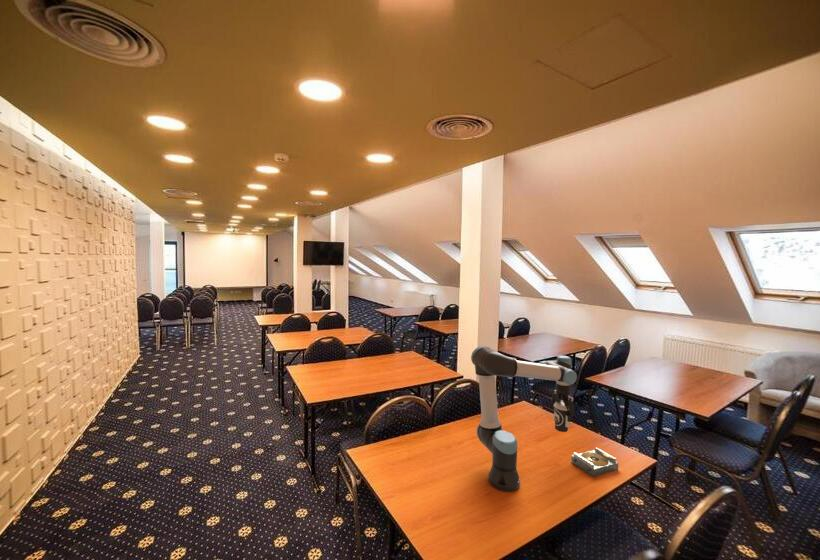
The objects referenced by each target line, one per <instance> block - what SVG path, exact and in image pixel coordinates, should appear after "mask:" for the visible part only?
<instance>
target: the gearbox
mask: <svg viewBox="0 0 820 560" xmlns="http://www.w3.org/2000/svg"><path fill="white" fill-rule="evenodd" d="M570 461H571V462H570V463H572V464H573V465H575V466H576V467H577V468H579V469H580V470H581V471H584V473H586V474H587V475H589V476H591V477H592V478H594V477H599V476H601V475H605V474H610V473H613V472H617V471H619V462H618V461H617V457H614V456H613V455H612V454H611V455H610V454H609V453H607V452H605V451H603V450H602V449H600V448H598V447H595V448H594V449H593V450H588V451H585V452H580V453H577V452H573V454H571V459H570Z"/></svg>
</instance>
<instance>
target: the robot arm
mask: <svg viewBox="0 0 820 560" xmlns="http://www.w3.org/2000/svg"><path fill="white" fill-rule="evenodd" d="M470 359H471V362H472V364H473V366H474V370H475V375H476V376H477V377H478V385H479V399H480V410H481V411H480V413H481V415H480V416H481V419H480V420H479V423H478V426H477V427H476V436H477V438H478V439H479V442H481V444H482V445H483V446H484V447H485V448H486V449H487V450H488V451H489V452H490V453H491V454H492V464H491V467H490V471H489V472H488V475H487V478H488V484H490V485H491V486H492V487H493V488H495V489H497V490H498V491H501V492H506V493H507V492H514V491H515V492H516V491H517V490H518V489H519V488H520V486H521V479H520V476H519V473H518V468H517V467H518V466H517V464H518V463H517V462H518V460H517V459H518V448H519V447H518V440H517V437H516V436H515V435H514V434H513V433H511V432H508V431H507V430H503V427H502V421H501V420H500V418H499V415H498V414H499V413H498V398H497V397H498V396H497V384H496V383H497V382H496V376H497V377H498V376H499V377H504V378H505V377H506V378H514V377H523V378H531V379H539V380H547V381H554V382H556V383H555V389H552V391H551V392H552V395H551V402H550V406H551V407H552V408H553V421H554V422H555V409H554V403H555V402H556V401H557V402H560V401H563V403H564V405H565V406H566V407H567V406H569V407H567V412H566V413H567V415H566V423H565V427H568V428H569V427H571V423H572V417H574V416H575V415H576V414H575V403H574V402H575V397H572V396H571V395H570V392H571V385H574V383H576V381H577V378H578V375H577V373H576V371H575V370H573V369H572V366H573V365H572V358H571V357H570V356H567V355H562V354H561V355H557V357H556V359H554V360H543V361H541V360H540V361H539V362H533V361H532V362H531V361H524V360H517V359H516V358H515V357H510V356H507V355H504V354H502V353H500V352H498V351H496V350H494V349H492V348H490V347H488V346H485V345H484V346H483V345H481V346H477V347H476V348H475V349H474V350H473V351H472V353H471V355H470ZM568 409H569V410H568Z"/></svg>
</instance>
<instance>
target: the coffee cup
mask: <svg viewBox="0 0 820 560" xmlns="http://www.w3.org/2000/svg"><path fill="white" fill-rule="evenodd" d="M567 407H569V406H567ZM567 407H566V406H565V405H564V403H563V401H562V400H561V401H560V402H557V401H556V402H555V403H554V408H553V410H554V409H555V421H554V429H555V430H556V431H558V432H561V433H566V432H568V431H569V430H568V429H569V427H565V423H566V415H567V413H566V412H567ZM568 410H569V409H568Z"/></svg>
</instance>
